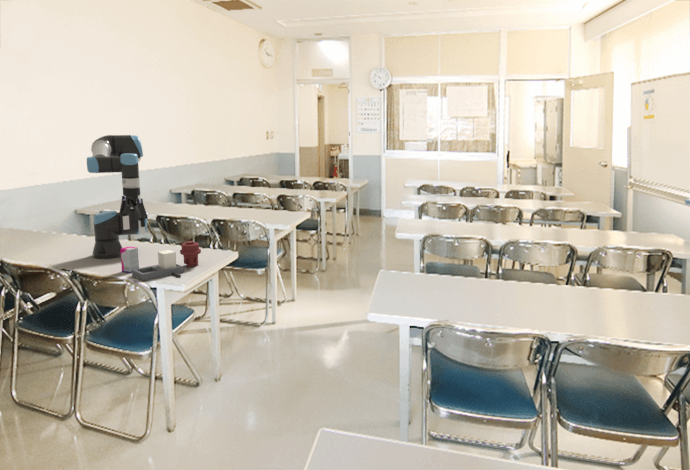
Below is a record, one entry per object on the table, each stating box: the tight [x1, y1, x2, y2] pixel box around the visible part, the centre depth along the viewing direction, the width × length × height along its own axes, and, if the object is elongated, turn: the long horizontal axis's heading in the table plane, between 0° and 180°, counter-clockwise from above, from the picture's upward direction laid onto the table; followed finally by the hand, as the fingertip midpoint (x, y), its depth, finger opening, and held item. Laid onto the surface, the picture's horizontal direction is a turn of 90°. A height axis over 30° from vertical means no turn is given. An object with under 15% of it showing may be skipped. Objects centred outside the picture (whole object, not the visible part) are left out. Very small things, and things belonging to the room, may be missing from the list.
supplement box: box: [120, 246, 140, 274], centre depth 254 cm, size 6×6×12 cm
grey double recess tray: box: [131, 249, 184, 282], centre depth 247 cm, size 18×20×10 cm
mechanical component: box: [179, 240, 202, 268], centre depth 264 cm, size 12×10×10 cm
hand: (134, 231), depth 252 cm, fingers open, 13 cm apart
